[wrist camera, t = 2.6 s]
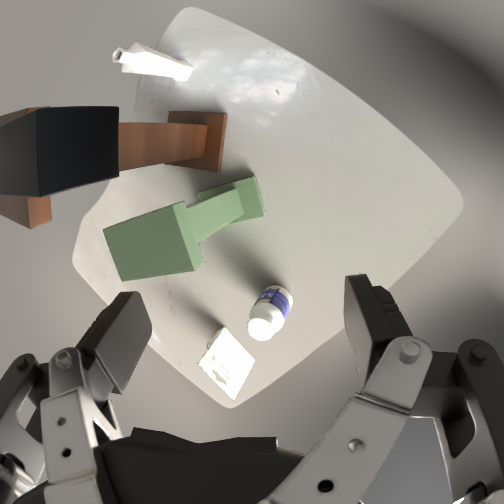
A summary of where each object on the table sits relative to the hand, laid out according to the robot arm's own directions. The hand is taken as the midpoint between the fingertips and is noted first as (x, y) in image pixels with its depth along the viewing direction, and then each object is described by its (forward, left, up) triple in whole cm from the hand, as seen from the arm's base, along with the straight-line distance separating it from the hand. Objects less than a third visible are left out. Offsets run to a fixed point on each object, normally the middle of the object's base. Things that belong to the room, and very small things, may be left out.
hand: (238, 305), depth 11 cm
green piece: (+10, -11, -32) cm, 35 cm away
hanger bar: (+2, -17, 0) cm, 18 cm away
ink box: (+34, +2, -32) cm, 47 cm away
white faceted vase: (-5, -29, -32) cm, 44 cm away
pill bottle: (+20, +3, -32) cm, 38 cm away
